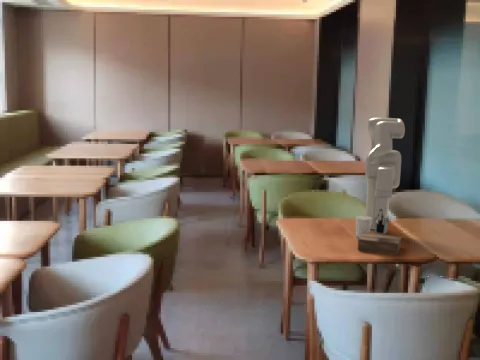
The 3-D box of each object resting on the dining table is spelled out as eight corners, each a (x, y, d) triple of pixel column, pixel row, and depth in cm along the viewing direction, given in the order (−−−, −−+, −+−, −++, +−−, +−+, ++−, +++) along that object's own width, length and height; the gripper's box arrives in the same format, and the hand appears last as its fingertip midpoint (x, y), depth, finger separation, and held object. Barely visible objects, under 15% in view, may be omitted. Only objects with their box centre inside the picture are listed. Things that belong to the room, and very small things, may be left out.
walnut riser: (363, 242, 284) (363, 232, 283) (400, 246, 278) (401, 236, 277) (357, 249, 271) (358, 239, 271) (397, 254, 265) (397, 244, 264)
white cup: (358, 239, 290) (359, 219, 288) (352, 234, 297) (353, 215, 296) (372, 238, 291) (374, 219, 289) (366, 234, 299) (367, 215, 297)
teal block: (376, 230, 276) (376, 220, 275) (386, 231, 274) (387, 221, 274) (374, 232, 272) (375, 222, 271) (385, 233, 270) (386, 223, 269)
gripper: (378, 189, 279) (375, 226, 282) (372, 195, 264) (369, 234, 267) (394, 191, 277) (391, 228, 280) (389, 197, 261) (386, 236, 264)
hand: (380, 230), depth 273 cm, fingers closed on teal block, 4 cm apart
